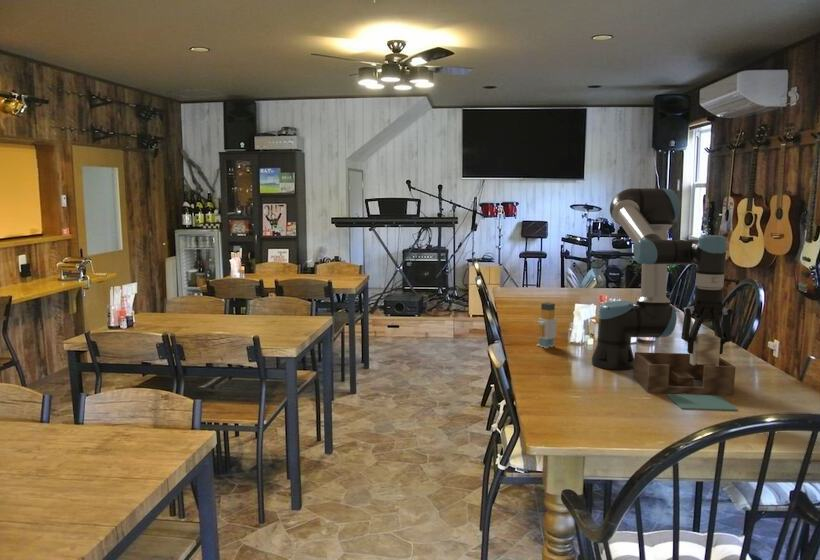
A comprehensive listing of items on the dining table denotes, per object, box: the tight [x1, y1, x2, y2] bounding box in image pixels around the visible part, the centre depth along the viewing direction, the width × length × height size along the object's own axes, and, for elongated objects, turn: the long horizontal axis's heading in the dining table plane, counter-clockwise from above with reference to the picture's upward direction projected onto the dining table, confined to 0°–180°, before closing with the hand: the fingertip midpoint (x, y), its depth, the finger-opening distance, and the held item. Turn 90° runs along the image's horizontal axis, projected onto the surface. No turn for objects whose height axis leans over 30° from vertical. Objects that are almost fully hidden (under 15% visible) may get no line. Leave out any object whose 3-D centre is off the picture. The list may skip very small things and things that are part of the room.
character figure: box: [536, 302, 558, 349], centre depth 263 cm, size 8×10×18 cm
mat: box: [666, 393, 738, 412], centre depth 193 cm, size 16×13×1 cm
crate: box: [632, 351, 737, 396], centre depth 209 cm, size 26×16×9 cm, turn 86°
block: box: [695, 333, 721, 365], centre depth 191 cm, size 6×6×8 cm
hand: (703, 364), depth 191 cm, fingers closed on block, 6 cm apart
